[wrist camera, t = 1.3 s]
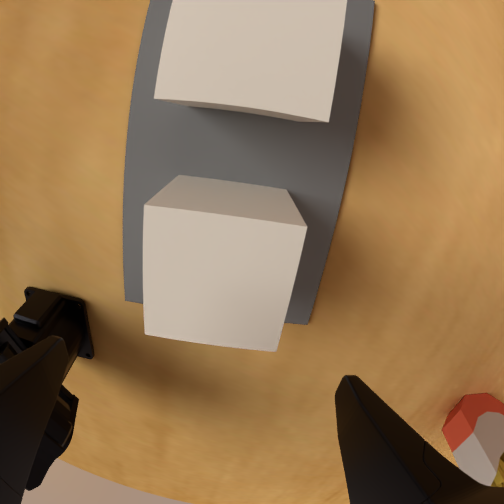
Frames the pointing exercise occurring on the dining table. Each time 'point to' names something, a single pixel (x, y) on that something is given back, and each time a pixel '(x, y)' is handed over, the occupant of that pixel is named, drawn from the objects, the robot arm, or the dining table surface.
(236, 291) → the white cube
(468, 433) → the french fries container
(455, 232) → the dining table surface
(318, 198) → the mat
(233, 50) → the closed white box
